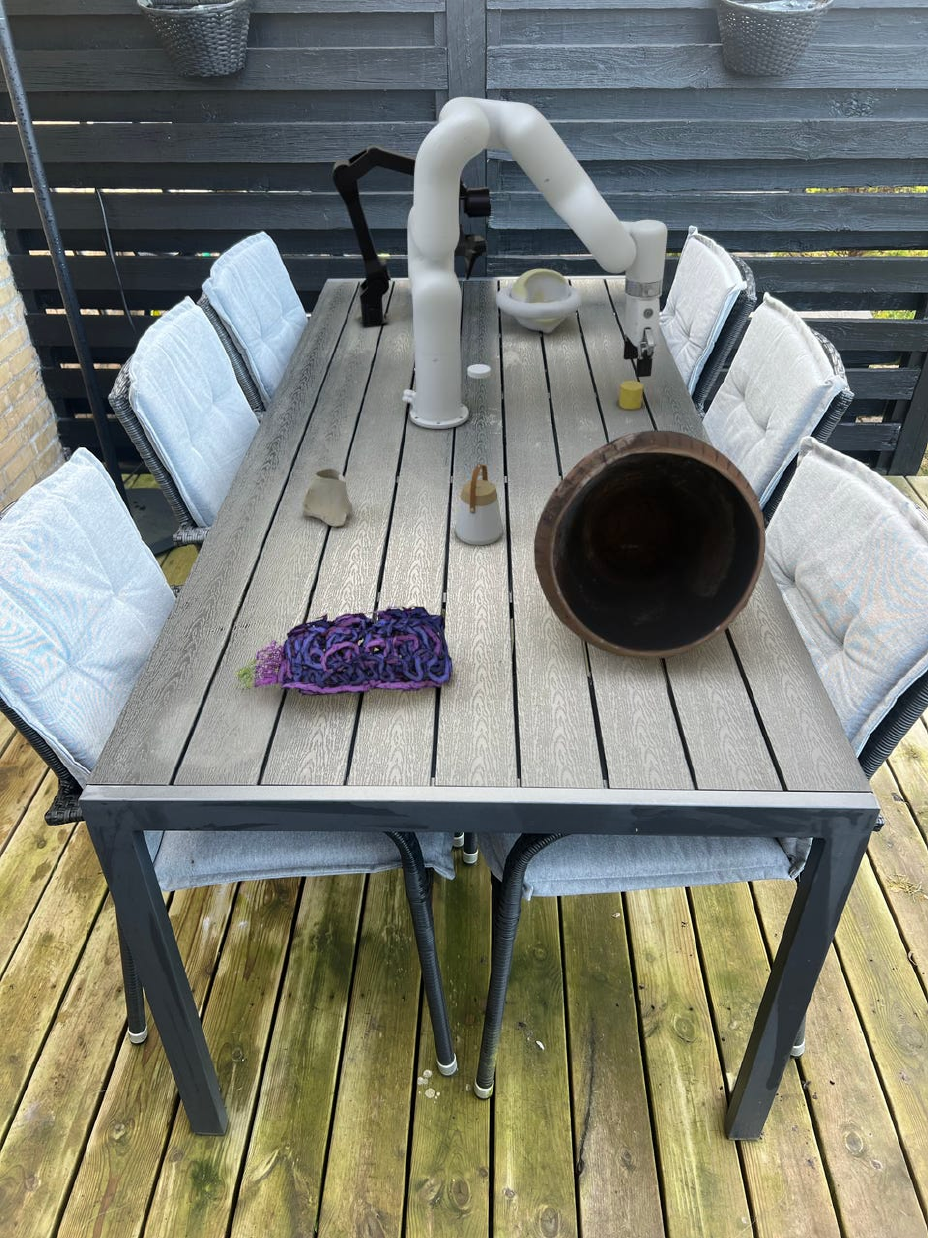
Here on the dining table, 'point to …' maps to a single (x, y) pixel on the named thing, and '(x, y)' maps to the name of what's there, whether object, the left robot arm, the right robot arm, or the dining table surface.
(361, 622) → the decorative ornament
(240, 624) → the dining table surface
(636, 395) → the tin
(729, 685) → the dining table surface
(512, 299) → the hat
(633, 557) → the pot
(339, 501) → the beige irregular piece
